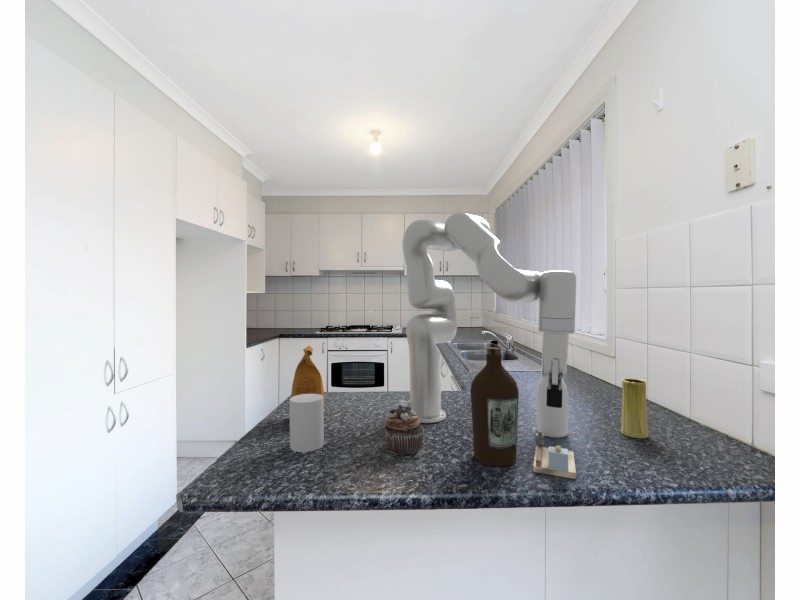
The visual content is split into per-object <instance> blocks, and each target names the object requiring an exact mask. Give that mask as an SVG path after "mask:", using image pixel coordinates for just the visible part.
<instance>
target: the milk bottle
mask: <svg viewBox="0 0 800 600" xmlns="http://www.w3.org/2000/svg"><path fill="white" fill-rule="evenodd" d="M552 361H553V359H552ZM558 362H559V361H558ZM547 387H548V375H547V376H544V377H543V376H542V375H540V379H539V381H538V383H537V388H536V430H537V433H538V432H539V431H540V432H542V434H544V437H549V438H557V439H558V438H559V439H560V438H566V437H567V436H568V434H569V397H568V396H569V395H568V388H567V384H566V383H565V381H564V379H562V383H561V389H562V408H556V407H548V406H547V405H546V404H547Z"/></svg>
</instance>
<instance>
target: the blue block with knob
mask: <svg viewBox="0 0 800 600" xmlns="http://www.w3.org/2000/svg"><path fill="white" fill-rule="evenodd" d="M548 448H549V469H551V470H557V471H563V472H568V451H569V449H568V448H562V447H561V445H555V447H554V446H550V445H549V446H548Z"/></svg>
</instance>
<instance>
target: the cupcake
mask: <svg viewBox="0 0 800 600" xmlns="http://www.w3.org/2000/svg"><path fill="white" fill-rule="evenodd" d="M387 415H388V416H387V419H386V420H385V425H384V431H385V435H386V440H387V444H388V450H389V449H390V450H391V451H392V452H394V453H397V454H396V455H398V454H411V455H414V454H413V453H415V454H417V452H418V453H419V452H420V451H422V444H423V438H424V433H425V428H424V426H423V425H422V423H420V418H419V417H418V416H416V413H415V412H413V411H412V410H411V408H410V407H405V408H404V407H402V406H401V405H399V404H398V405H397V408H395V409H390V410H389V412H388V414H387ZM390 450H389V451H390ZM391 451H390V452H391ZM392 452H391V453H392ZM394 453H393V454H394Z"/></svg>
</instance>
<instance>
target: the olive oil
mask: <svg viewBox="0 0 800 600" xmlns="http://www.w3.org/2000/svg"><path fill="white" fill-rule="evenodd" d="M501 352H502V349H501V348H500V347H495V346H493V347H491V346H490V347H486V360H485V361H486V364H485V365H484V367H482V369H480V371H479V372H478V373H477V374H476V375H475V376H474V377H473V379H472V381H471V385H470V403H471V404H470V405H471V421H472V441H473V442H472V443H473V458H474V459H475V460H476V461H477V462H479V463H480V464H483V465H486V466H489V467H495V468H497V467H499V468H501V467H502V468H503V467H504V468H505V467H509V466H512V465H514V464H515V463H516V462H517V447H518V446H517V444H518V421H519V420H518V416H519V415H518V413H519V398H520V397H519V396H520V395H519V394H520V392H519V386H518V384H517V382H516V379H515V378H514V377H513V376H512V375H511V374H510V373H509V371H508V370H507V369H506V368H505V367H504V366H503V363H502V357H503V356H502V353H501Z"/></svg>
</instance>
